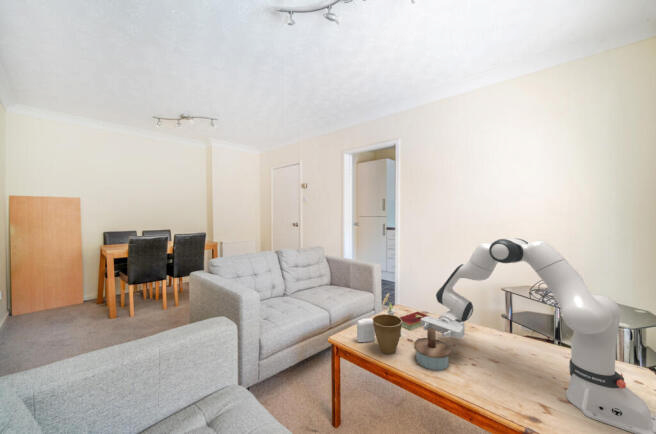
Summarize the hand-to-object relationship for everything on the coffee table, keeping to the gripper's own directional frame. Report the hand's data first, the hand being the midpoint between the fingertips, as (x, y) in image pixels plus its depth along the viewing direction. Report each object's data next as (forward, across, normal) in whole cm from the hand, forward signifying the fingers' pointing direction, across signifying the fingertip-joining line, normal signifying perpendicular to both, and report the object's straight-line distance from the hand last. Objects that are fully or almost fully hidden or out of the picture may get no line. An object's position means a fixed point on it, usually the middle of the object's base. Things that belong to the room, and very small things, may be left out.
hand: (433, 331), depth 122 cm
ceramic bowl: (+2, 0, +14) cm, 14 cm away
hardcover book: (-29, -28, +14) cm, 43 cm away
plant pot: (+10, -20, +14) cm, 26 cm away
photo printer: (+11, -34, +14) cm, 38 cm away
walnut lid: (+2, 0, +8) cm, 8 cm away
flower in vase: (-5, -29, +14) cm, 33 cm away
